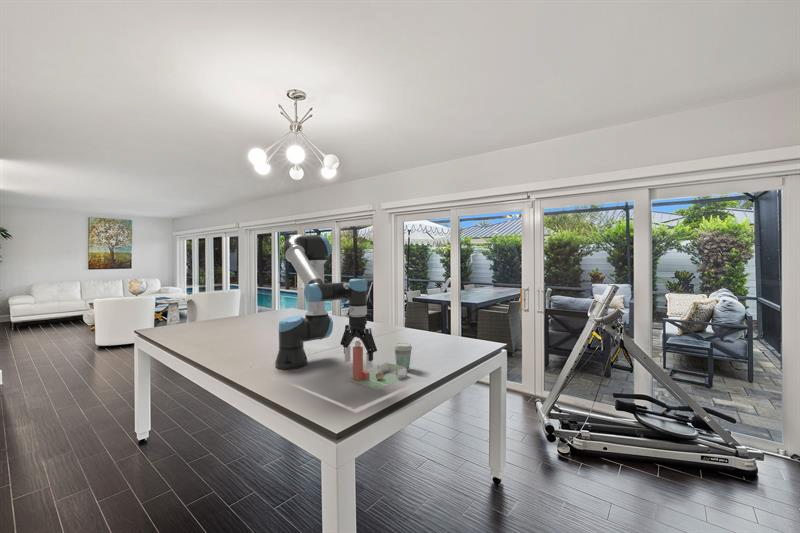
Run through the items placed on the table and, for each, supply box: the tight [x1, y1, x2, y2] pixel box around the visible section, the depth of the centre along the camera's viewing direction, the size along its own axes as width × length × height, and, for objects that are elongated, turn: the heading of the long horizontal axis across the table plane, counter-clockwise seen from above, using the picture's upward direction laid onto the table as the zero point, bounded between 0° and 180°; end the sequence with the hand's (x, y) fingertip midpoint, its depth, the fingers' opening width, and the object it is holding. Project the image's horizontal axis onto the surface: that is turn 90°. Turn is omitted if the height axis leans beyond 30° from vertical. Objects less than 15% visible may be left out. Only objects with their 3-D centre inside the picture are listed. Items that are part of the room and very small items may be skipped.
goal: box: [377, 361, 408, 380], centre depth 155 cm, size 12×6×5 cm, turn 50°
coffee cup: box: [393, 342, 413, 372], centre depth 165 cm, size 8×8×12 cm
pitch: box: [346, 370, 400, 391], centre depth 148 cm, size 18×14×1 cm
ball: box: [375, 370, 385, 380], centre depth 148 cm, size 4×4×4 cm
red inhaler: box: [352, 340, 369, 381], centre depth 149 cm, size 7×5×16 cm
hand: (358, 365), depth 148 cm, fingers open, 13 cm apart
